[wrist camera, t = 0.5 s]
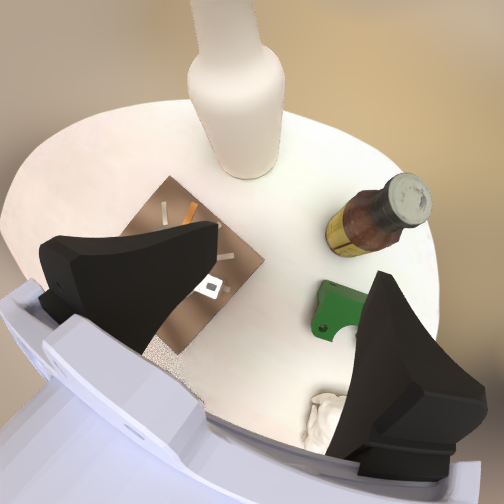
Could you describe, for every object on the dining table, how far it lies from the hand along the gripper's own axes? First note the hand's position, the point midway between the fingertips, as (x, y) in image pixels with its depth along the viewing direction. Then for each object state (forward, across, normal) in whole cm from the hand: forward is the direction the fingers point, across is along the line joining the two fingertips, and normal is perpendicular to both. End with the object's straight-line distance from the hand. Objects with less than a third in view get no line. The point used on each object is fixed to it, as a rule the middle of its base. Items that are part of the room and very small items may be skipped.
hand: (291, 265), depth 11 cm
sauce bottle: (+26, -2, +9) cm, 28 cm away
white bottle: (+27, +14, +1) cm, 31 cm away
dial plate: (+15, +19, +15) cm, 29 cm away
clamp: (+21, -6, +18) cm, 29 cm away
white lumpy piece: (+12, -8, +32) cm, 35 cm away
